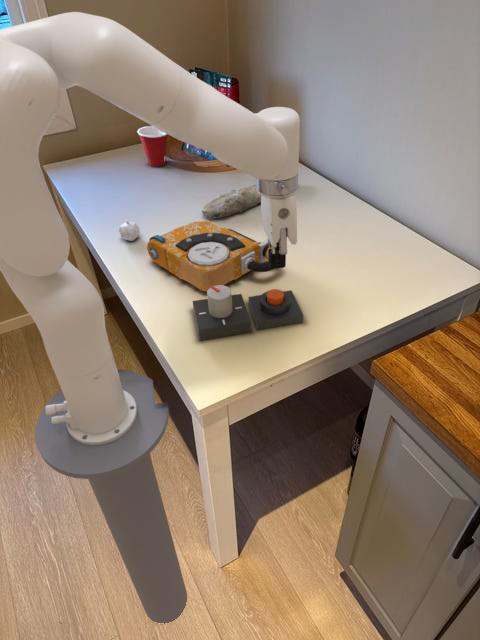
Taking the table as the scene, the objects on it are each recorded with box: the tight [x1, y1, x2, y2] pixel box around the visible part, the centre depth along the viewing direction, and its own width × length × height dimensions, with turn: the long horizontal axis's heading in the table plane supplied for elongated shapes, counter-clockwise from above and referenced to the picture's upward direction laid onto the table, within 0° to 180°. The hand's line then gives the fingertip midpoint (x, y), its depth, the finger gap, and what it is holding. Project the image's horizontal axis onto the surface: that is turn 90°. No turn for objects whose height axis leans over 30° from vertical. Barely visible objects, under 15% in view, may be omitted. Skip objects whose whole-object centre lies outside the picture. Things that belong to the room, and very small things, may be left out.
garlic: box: [118, 219, 140, 242], centre depth 133 cm, size 6×5×5 cm
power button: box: [266, 288, 284, 305], centre depth 104 cm, size 4×4×2 cm
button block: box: [248, 289, 304, 330], centre depth 106 cm, size 10×9×4 cm
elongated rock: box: [201, 184, 261, 219], centre depth 148 cm, size 35×5×10 cm
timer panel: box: [192, 293, 252, 341], centre depth 104 cm, size 11×10×3 cm
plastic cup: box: [136, 125, 169, 168], centre depth 171 cm, size 11×11×12 cm
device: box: [146, 219, 274, 292], centre depth 119 cm, size 23×8×30 cm
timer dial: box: [206, 285, 233, 318], centre depth 102 cm, size 5×5×5 cm
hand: (277, 266), depth 99 cm, fingers closed
